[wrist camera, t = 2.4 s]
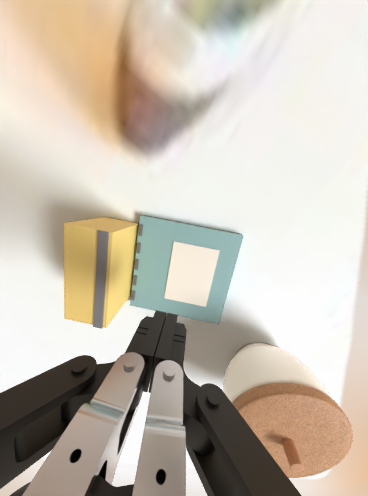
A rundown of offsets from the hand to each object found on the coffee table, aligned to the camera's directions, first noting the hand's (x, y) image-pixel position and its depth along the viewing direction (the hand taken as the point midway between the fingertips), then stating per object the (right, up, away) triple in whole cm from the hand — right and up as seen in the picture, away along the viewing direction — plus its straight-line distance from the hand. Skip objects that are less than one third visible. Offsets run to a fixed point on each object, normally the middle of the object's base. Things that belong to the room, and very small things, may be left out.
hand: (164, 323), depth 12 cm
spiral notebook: (+1, +2, +8) cm, 9 cm away
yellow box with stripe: (-7, +4, +9) cm, 12 cm away
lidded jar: (+11, -10, +11) cm, 18 cm away
